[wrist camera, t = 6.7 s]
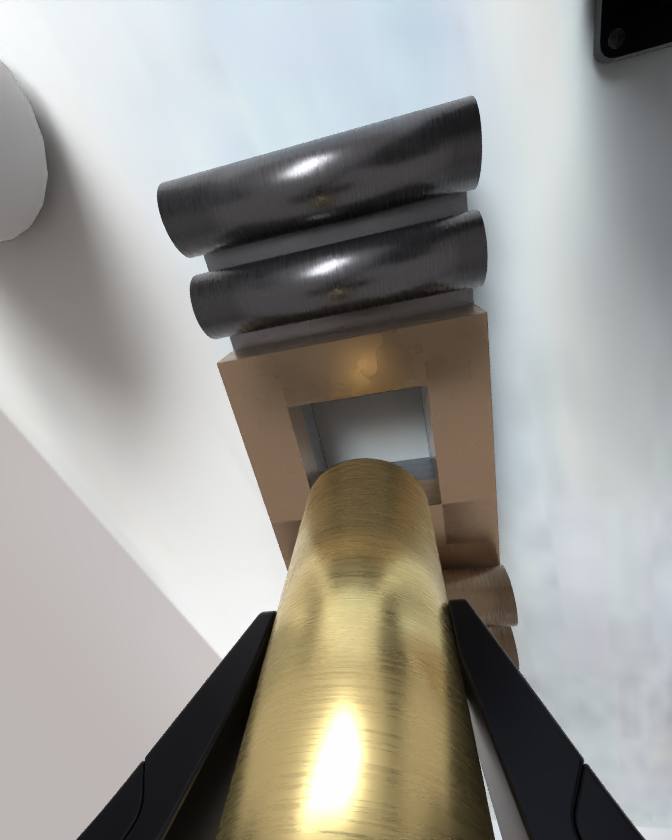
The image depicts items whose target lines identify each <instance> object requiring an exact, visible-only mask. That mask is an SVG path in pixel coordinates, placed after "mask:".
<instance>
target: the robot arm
mask: <svg viewBox="0 0 672 840" xmlns="http://www.w3.org/2000/svg"><path fill="white" fill-rule="evenodd" d="M610 34H615V35H616V36H617V37H618V45H617V48H616V49H612V48H611V47H610V46H609V44H608V39H609V35H610ZM668 46H672V0H596V6H595V29H594V56H595V57H596V59H597V61H599V62H601V63H611V62H615V61H618V60H622V59H625V58H629V57H633V56H636V55H640V54H643V53H647V52H651V51H654V50H658V49H661V48H665V47H668ZM448 607H449V612H450V617H451V623H452V628H453V633H454V638H455V643H456V648H457V653H458V658H459V663H460V667H461V672H462V676H463V681H464V686H465V691H466V696H467V701H468V706H469V711H470V716H471V721H472V726H473V731H474V736H475V741H476V746H477V751H478V755H479V759H480V762H481V766H482V769H483V773H484V776H485V780H486V783H487V787H488V790H489V794H490V797H491V801H492V804H493V808H494V811H495V815H496V818H497V822H498V825H499V828H500V832H501V836H502V839H503V840H645V838H644V837H643V836H642V835H641V833H640V832H639V831H638V830H637V829H636V827H635V826H634V825H633V823H632V822H631V821H630V820H629V818H628V817H627V816H626V814H625V813H624V812H623V810H622V809H621V808H620V806H619V805H618V804H617V803H616V801H615V800H614V799H613V797H612V796H611V795H610V793H609V792H608V791H607V790H606V788H605V787H604V785H603V784H602V783H601V781H600V780H599V779H598V777H597V776H596V775H595V773H594V772H593V770H592V769H591V768H590V766H589V765H588V764H584V759H583V757H582V756H581V754H580V753H579V752H578V750H577V749H576V748H575V746H574V745H573V744H572V742H571V741H570V739H569V738H568V737H567V735H566V734H565V733H564V731H563V730H562V729H561V727H560V726H559V724H558V723H557V722H556V720H555V719H554V718H553V716H552V715H551V713H550V712H549V711H548V709H547V708H546V707H545V705H544V704H543V703H542V701H541V700H540V698H539V697H538V696H537V694H536V693H535V692H534V690H533V689H532V688H531V686H530V685H529V683H528V682H527V681H526V679H525V678H524V677H523V675H522V674H521V673H520V671H519V670H518V668H517V667H516V666H515V664H514V663H513V662H512V660H511V659H510V658H509V656H508V655H507V653H506V652H505V651H504V649H503V648H502V647H501V645H500V644H499V643H498V641H497V640H496V638H495V637H494V636H493V634H492V633H491V632H490V630H489V629H488V628H487V626H486V625H485V623H484V622H483V621H482V619H481V618H480V617H479V615H478V614H477V613H476V611H475V610H474V608H473V607H472V606H471V604H470V603H469V602H468V601H467V600H466V599H452V600H449V601H448ZM276 614H277V611H267V612H262V613H260V614H259V615H258V616H257V617H256V619H255V620H254V621H253V623H252V624H251V625H250V626H249V628H248V629H247V630H246V631H245V633H244V634H243V635H242V636H241V638H240V639H239V640H238V641H237V643H236V644H235V645H234V646H233V648H232V649H231V650H230V651H229V653H228V654H227V655H226V656H225V658H224V659H223V660H222V662H221V663H220V664H219V665H218V667H217V668H216V669H215V670H214V672H213V673H212V674H211V675H210V677H209V678H208V679H207V680H206V682H205V683H204V684H203V685H202V687H201V688H200V689H199V691H198V692H197V693H196V694H195V695H194V697H193V698H192V699H191V701H190V702H189V703H188V704H187V706H186V707H185V708H184V709H183V711H182V712H181V713H180V714H179V716H178V717H177V718H176V719H175V721H174V722H173V723H172V724H171V726H170V727H169V728H168V729H167V731H166V732H165V733H164V734H163V736H162V737H161V738H160V739H159V741H158V742H157V743H156V745H155V746H154V747H153V748H152V749H151V751H150V752H149V753H148V755H147V756H146V758H145V761H142V762H141V763H140V765H139V766H138V767H137V768H136V770H135V771H134V772H133V773H132V774H131V776H130V777H129V778H128V779H127V781H126V782H125V783H124V784H123V786H122V787H121V788H120V789H119V791H118V792H117V793H116V794H115V795H114V797H113V798H112V799H111V800H110V802H109V803H108V804H107V805H106V806H105V807H104V809H103V810H102V811H101V812H100V813H99V815H98V816H97V817H96V818H95V819H94V820H93V821H92V822H91V824H90V825H89V826H88V827H87V828H86V829H85V831H84V832H83V833H82V834H81V835H80V836H79V837H78V838H77V840H216V836H217V832H218V829H219V825H220V821H221V817H222V814H223V810H224V806H225V803H226V799H227V795H228V792H229V788H230V784H231V780H232V777H233V773H234V769H235V766H236V762H237V758H238V755H239V751H240V747H241V743H242V740H243V736H244V732H245V729H246V725H247V721H248V717H249V714H250V710H251V706H252V703H253V699H254V695H255V692H256V688H257V684H258V680H259V677H260V673H261V669H262V666H263V662H264V658H265V655H266V651H267V647H268V643H269V640H270V636H271V632H272V629H273V625H274V621H275V618H276Z"/></svg>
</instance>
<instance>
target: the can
mask: <svg viewBox="0 0 672 840" xmlns="http://www.w3.org/2000/svg"><path fill="white" fill-rule="evenodd" d="M47 179H48V171H47V163H46V154H45V146H44V140H43V137H42V134H41V131H40V129H39V126H38V123H37V120H36V118H35V115H34V112H33V109H32V107H31V104H30V102H29V100H28V99H27V97H26V96H25V94H24V92H23V91H22V89H21V88H20V86H19V85H18V83H17V81H16V80H15V78H14V77H13V75H12V73H11V72H10V70H9V69H8V67H7V66H6V65H5V64H4V63H3V62H2V61H1V60H0V242H2V241H8V240H12V239H14V238H15V237H17V236H18V235H19V234H21V233H22V232H24V231H25V230H27V229H28V228H29V227H31V225H32V223H33V222H34V220H35V218H36V217H37V215H38V213H39V211H40V210H41V208H42V206H43V203H44V197H45V191H46V185H47Z"/></svg>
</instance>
